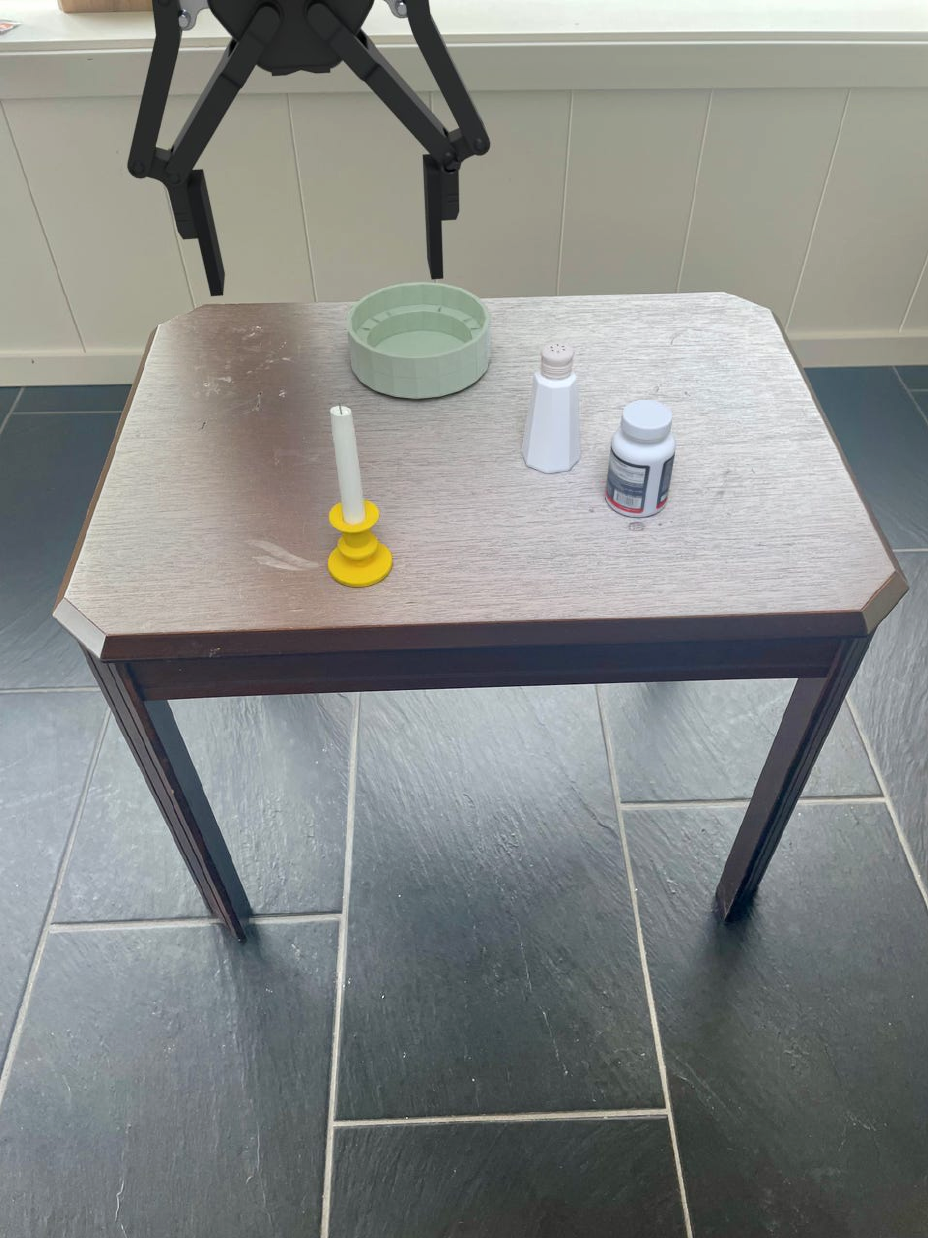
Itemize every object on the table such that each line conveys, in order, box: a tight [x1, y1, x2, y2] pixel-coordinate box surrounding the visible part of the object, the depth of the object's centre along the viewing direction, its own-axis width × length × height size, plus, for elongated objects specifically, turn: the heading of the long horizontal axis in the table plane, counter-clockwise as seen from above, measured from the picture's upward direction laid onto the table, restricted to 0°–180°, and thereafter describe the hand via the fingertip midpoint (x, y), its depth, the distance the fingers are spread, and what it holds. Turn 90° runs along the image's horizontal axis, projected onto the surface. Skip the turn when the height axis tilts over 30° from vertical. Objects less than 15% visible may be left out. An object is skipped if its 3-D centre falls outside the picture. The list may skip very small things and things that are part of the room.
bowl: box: [345, 281, 492, 400], centre depth 96 cm, size 14×14×5 cm
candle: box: [327, 402, 394, 588], centre depth 72 cm, size 5×5×16 cm
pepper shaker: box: [520, 340, 582, 475], centre depth 83 cm, size 5×5×11 cm
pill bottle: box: [605, 399, 677, 518], centre depth 80 cm, size 5×5×9 cm
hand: (327, 277), depth 60 cm, fingers open, 13 cm apart
